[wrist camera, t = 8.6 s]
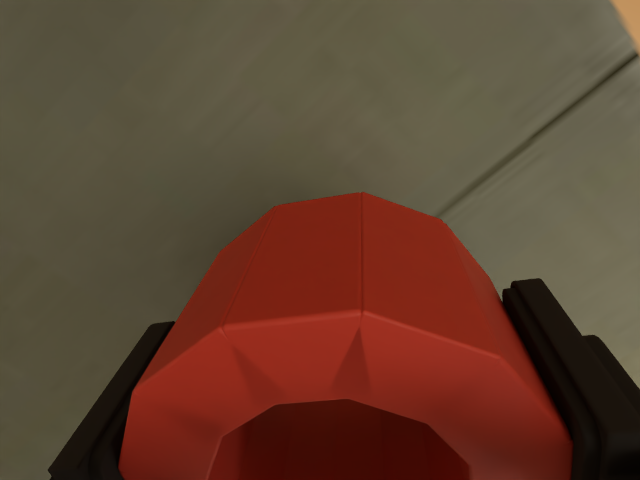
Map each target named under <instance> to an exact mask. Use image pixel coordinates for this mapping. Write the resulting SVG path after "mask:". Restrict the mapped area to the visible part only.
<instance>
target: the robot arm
mask: <svg viewBox="0 0 640 480" xmlns="http://www.w3.org/2000/svg"><path fill="white" fill-rule="evenodd" d="M502 299H503V305H504V306H505V308H506V310H507V312H508V314H509V316H510V318H511V320H512V322H513V324H514V326H515V328H516V330H517V331H518V333H519V335H520V337H521V339H522V341H523V343H524V345H525V347H526V349H527V351H528V353H529V355H530V357H531V358H532V360H533V362H534V364H535V366H536V368H537V370H538V372H539V374H540V376H541V378H542V380H543V382H544V384H545V385H546V387H547V389H548V391H549V393H550V395H551V397H552V399H553V401H554V403H555V405H556V407H557V409H558V411H559V412H560V414H561V416H562V418H563V420H564V422H565V424H566V426H567V428H568V430H569V432H570V434H571V438H572V440H573V445H574V446H573V460H572V474H571V480H640V389H639V388H638V387H637V385H636V384H635V383H634V382H633V380H632V379H631V378H630V376H629V375H628V374H627V372H626V371H625V370H624V369H623V367H622V366H621V365H620V363H619V362H618V361H617V359H616V358H615V357H614V356H613V354H612V353H611V352H610V350H609V349H608V348H607V347H606V345H605V344H604V343H603V341H602V340H601V339H600V338H599V337H597V336H595V335H587V336H582V335H581V333H580V332H579V331H578V329H577V328H576V326H575V325H574V324H573V322H572V321H571V319H570V318H569V317H568V315H567V314H566V313H565V311H564V310H563V308H562V307H561V306H560V304H559V303H558V301H557V300H556V299H555V297H554V296H553V294H552V293H551V292H550V290H549V289H548V287H547V286H546V285H545V283H544V282H543V281H542V280H541V279H540V278H536V279H528V280H519V281H513V282H512V283H511V288H508V289H503V293H502ZM174 324H175V322H174V321H172V322H164V323H155V324H151V325H150V326H149V327H148V329H147V330H146V332H145V333H144V334H143V336H142V337H141V339H140V340H139V341H138V343H137V344H136V346H135V347H134V349H133V350H132V351H131V353H130V354H129V356H128V357H127V358H126V360H125V361H124V363H123V364H122V366H121V367H120V368H119V370H118V371H117V373H116V374H115V375H114V377H113V378H112V380H111V381H110V383H109V384H108V385H107V387H106V388H105V390H104V391H103V392H102V394H101V395H100V397H99V398H98V400H97V401H96V402H95V404H94V405H93V407H92V408H91V409H90V411H89V412H88V414H87V415H86V417H85V418H84V419H83V421H82V422H81V424H80V425H79V426H78V428H77V429H76V431H75V432H74V434H73V435H72V436H71V438H70V439H69V441H68V442H67V444H66V445H65V446H64V448H63V449H62V451H61V452H60V453H59V455H58V456H57V458H56V459H55V461H54V462H53V463H52V465H51V466H50V468H49V469H48V471H49V473H50V474H51V476H52V477H51V479H50V480H124V479H123V478H122V476H121V474H120V471H119V469H118V464H119V458H120V453H121V448H122V443H123V438H124V432H125V427H126V422H127V417H128V411H129V406H130V401H131V396H132V391H133V390H134V388H135V386H136V385H137V383H138V382H139V380H140V378H141V377H142V375H143V374H144V372H145V370H146V369H147V367H148V366H149V364H150V362H151V361H152V359H153V358H154V356H155V354H156V353H157V351H158V350H159V348H160V346H161V345H162V343H163V342H164V340H165V338H166V337H167V335H168V334H169V332H170V330H171V329H172V327H173V326H174Z"/></svg>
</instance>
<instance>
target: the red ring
mask: <svg viewBox="0 0 640 480" xmlns="http://www.w3.org/2000/svg"><path fill="white" fill-rule="evenodd" d="M573 446H574V445H573V440H572V438H571V434H570V432H569V430H568V428H567V426H566V424H565V422H564V420H563V418H562V416H561V414H560V412H559V411H558V409H557V407H556V405H555V403H554V401H553V399H552V397H551V395H550V393H549V391H548V389H547V387H546V385H545V384H544V382H543V380H542V378H541V376H540V374H539V372H538V370H537V368H536V366H535V364H534V362H533V360H532V358H531V357H530V355H529V353H528V351H527V349H526V347H525V345H524V343H523V341H522V339H521V337H520V335H519V333H518V331H517V330H516V328H515V326H514V324H513V322H512V320H511V318H510V316H509V314H508V312H507V310H506V308H505V306H504V305H503V303H502V301H501V299H500V297H499V295H498V293H497V291H496V289H495V287H494V285H493V283H492V281H491V279H490V278H489V276H488V275H487V274H486V273H485V271H484V270H483V269H482V268H481V267H480V265H479V264H478V263H477V262H476V260H475V259H474V258H473V257H472V255H471V254H470V253H469V252H468V250H467V249H466V248H465V247H464V245H463V244H462V243H461V242H460V241H459V239H458V238H457V237H456V236H455V234H454V233H453V232H452V231H451V229H450V228H449V227H448V226H447V224H445V223H443V221H442V220H441V219H438V218H435V217H432V216H430V215H427V214H424V213H421V212H418V211H415V210H413V209H410V208H407V207H404V206H401V205H398V204H396V203H393V202H390V201H387V200H384V199H382V198H379V197H376V196H373V195H370V194H367V193H365V192H361V193H352V194H345V195H339V196H333V197H326V198H320V199H314V200H307V201H301V202H294V203H288V204H282V205H278V206H274V207H273V208H272V209H271V210H269V211H268V212H267V213H266V214H265V215H263V216H262V217H261V218H260V219H259V220H257V221H256V222H255V223H254V224H253V225H251V226H250V227H249V228H248V229H247V230H245V231H244V232H243V233H242V234H240V235H239V236H238V237H237V238H236V239H234V240H233V241H232V242H231V243H230V244H228V245H227V246H226V247H225V248H224V249H222V250H221V251H220V252H219V254H218V255H217V257H216V259H215V260H214V262H213V263H212V265H211V267H210V268H209V270H208V271H207V273H206V275H205V276H204V278H203V279H202V281H201V283H200V284H199V286H198V287H197V289H196V291H195V292H194V294H193V295H192V297H191V299H190V300H189V302H188V303H187V305H186V307H185V308H184V310H183V311H182V313H181V314H180V316H179V318H178V319H177V321H176V322H175V324H174V326H173V327H172V329H171V330H170V332H169V334H168V335H167V337H166V338H165V340H164V342H163V343H162V345H161V346H160V348H159V350H158V351H157V353H156V354H155V356H154V358H153V359H152V361H151V362H150V364H149V366H148V367H147V369H146V370H145V372H144V374H143V375H142V377H141V378H140V380H139V382H138V383H137V385H136V386H135V388H134V390H133V391H132V396H131V401H130V406H129V411H128V417H127V422H126V427H125V432H124V438H123V443H122V448H121V453H120V458H119V464H118V469H119V471H120V474H121V476H122V478H123V479H124V480H571V474H572V460H573Z"/></svg>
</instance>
